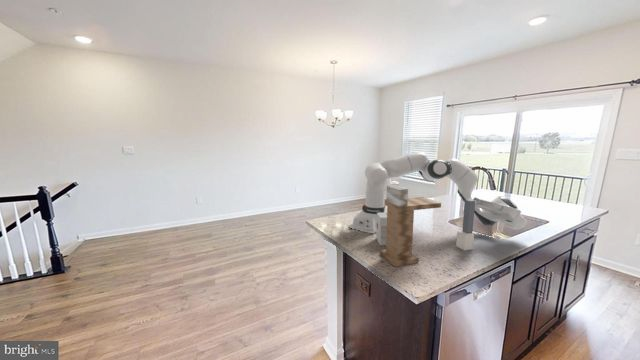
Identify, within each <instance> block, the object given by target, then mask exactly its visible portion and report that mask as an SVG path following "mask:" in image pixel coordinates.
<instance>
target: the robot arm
mask: <svg viewBox="0 0 640 360" xmlns="http://www.w3.org/2000/svg"><path fill="white" fill-rule="evenodd" d="M414 172H415V173H416V172H418V173H419V175H420V176H421V177H422V178H423V180H425V181H428V182H433V181H434V182H435V181H439V180H441V179H444V178H445V177H447V178H448V179H449V180H451V181H452V182H453V183H454V184H455V185H456V187H457V194H458V196H459V198H461V200H462V201H463V202H464V203H465V200H468V199H471V200H474V201H475V210H474V216H475V217H476V218H477V220H478V221H479V222H480V224H482V225H483V226H487V227H488V226H489V227H490V226H492V227H493V226H494V225H495V224H497V223H498V222H499V223H501V224H503V225H504V226H506V227H508V228H509V229H512V230H515V231H516V230H522V229H523V228H524V227H525V226H526V225H527V219H526V218H525V216H523V215H522V214H521V213H522V211H521V210H520V209H519V208H518V206H517V204H516V203H514V202H513V201H512V200H510V199H508V197H506V196H502V195H501V196H496V197H495V198H494V199H493V200H492V201H489V200H486V199H485V200H484V199H481V198H478V197H475V196H474V197H473V198H472V193H473V191H474V189H475V187H476V186H477V182H478V174H476V172H475V171H474V170H472V168H471V167H469V166H468V165H466V164H465V163H463V162H461V161H460V160H459V159H457V158H454V157H453V158H449V159H447V160H443V159H434V160H432V161H431V160H429V158H428V155H427V154H425V152H422V151H418V152H411V153H407V154H404V155H401V156H397V157H395V158H391V159H387V160H382V161H378V162H375V163H371V164H369V165H367V166H366V168H365V170H364V175H365V178H366V179H367V182H366V190H365V203H364V204H363V205H362V207H361V210H362V211H360V212H359V213H356V214H355V216H354V217H353V218H352V221H351V222H350V223H349V226H348V228H349V227H350V228H352V229H351V230H354V229H356V230H355V231H358V230H360V232H363V231H364V232H363V233H368V234H374V233H377V213H380V212H381V213H386V206H385V200H386V199H385V198H386V197H385V195H386V190H387V183H388V182H387V181H388V179H392V178H399V177H403V176H405V175H409V174H412V173H414ZM350 228H349V229H350Z"/></svg>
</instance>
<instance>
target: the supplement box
mask: <svg viewBox="0 0 640 360" xmlns="http://www.w3.org/2000/svg"><path fill="white" fill-rule="evenodd" d="M386 236H387V212H385V213H381V212H380V213H377V232H376V241H377V243H378V245H379V246H386Z"/></svg>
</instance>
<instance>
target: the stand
mask: <svg viewBox="0 0 640 360" xmlns="http://www.w3.org/2000/svg"><path fill="white" fill-rule="evenodd" d="M385 195H386V197H385V198H386V199H385V202H384V206H385V205H386V207H387V208H386V209H387V210H386V213H387V236H386V245H385V249H380V250H379V255H380V256H381V257H382V258H383V259H385V260H386V261H387V262H388V263H389V264H391V265H392V267H394V268H395V267H399V266H400V267H401V266H406V265H413V264H418V263H419V260H420V259H419V257H417V256H416V255H414V254H413V241H414V240H413V238H414V237H413V236H414V218H415V217H414V215H415V213H414V212H415V211H418V210H419V211H421V210H429V209H437V208H438V209H439V208H441V207H442V202H440V201H437V200H433V199H430V198H427V197H425V196H422V197H421V196H418V197H417V196H416V197H409V189H408V188H407V187H403V186H400V185H399V186H396V185H389V184H388V185H386V194H385Z"/></svg>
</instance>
